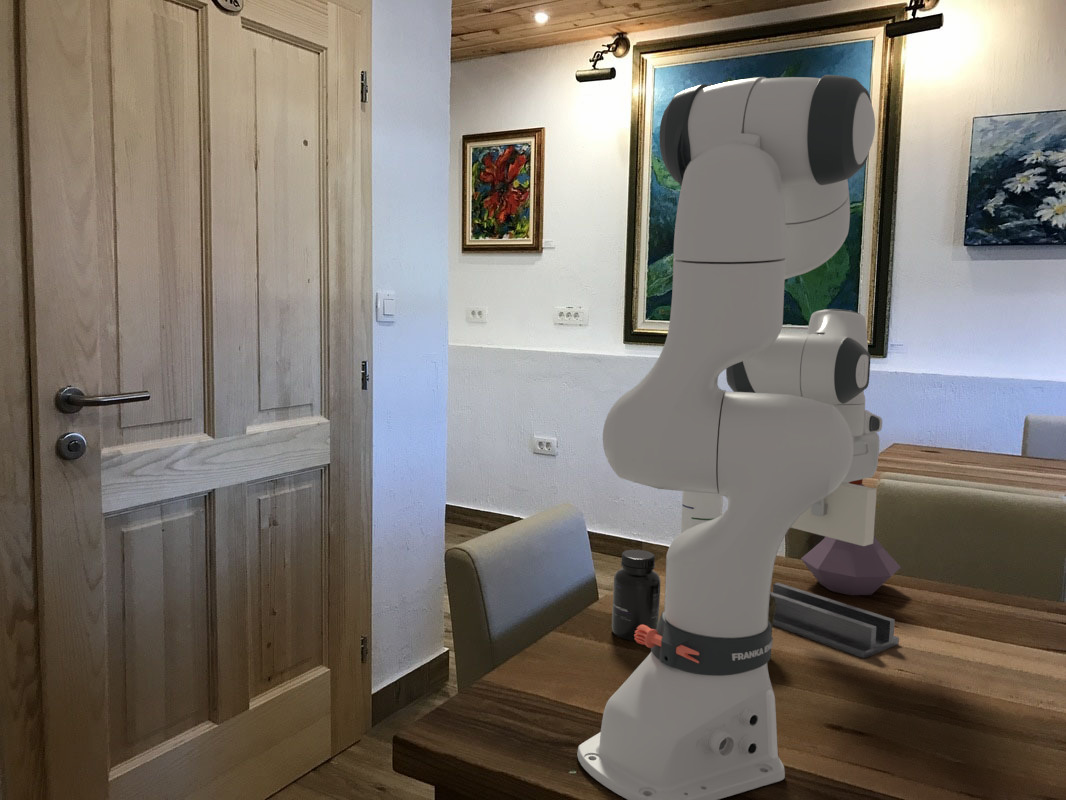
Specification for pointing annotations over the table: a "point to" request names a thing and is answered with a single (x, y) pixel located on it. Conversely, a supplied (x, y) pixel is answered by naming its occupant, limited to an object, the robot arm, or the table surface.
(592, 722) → the table surface
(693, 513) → the cylindrical container
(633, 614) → the supplement bottle
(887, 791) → the table surface
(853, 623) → the floor track
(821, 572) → the flask
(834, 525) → the door panel
